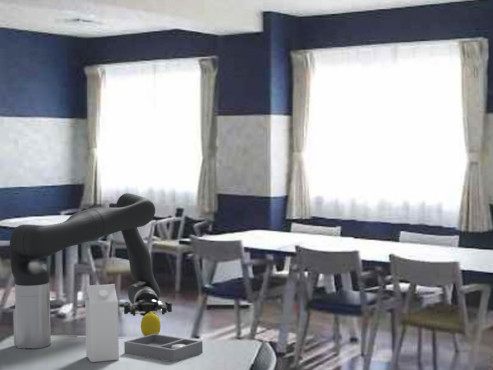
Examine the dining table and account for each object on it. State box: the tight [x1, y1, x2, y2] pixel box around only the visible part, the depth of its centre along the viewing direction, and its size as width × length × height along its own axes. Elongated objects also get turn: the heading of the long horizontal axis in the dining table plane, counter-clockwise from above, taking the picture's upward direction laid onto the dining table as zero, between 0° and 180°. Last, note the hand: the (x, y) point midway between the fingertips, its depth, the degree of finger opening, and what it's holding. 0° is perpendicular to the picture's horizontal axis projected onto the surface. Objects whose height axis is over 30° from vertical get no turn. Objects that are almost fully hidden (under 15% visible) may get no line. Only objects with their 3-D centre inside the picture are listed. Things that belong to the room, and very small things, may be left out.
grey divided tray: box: [123, 333, 204, 363], centre depth 219 cm, size 17×12×3 cm
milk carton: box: [84, 283, 120, 363], centre depth 213 cm, size 7×7×19 cm
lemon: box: [140, 312, 162, 337], centre depth 234 cm, size 6×6×8 cm
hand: (148, 311), depth 244 cm, fingers open, 8 cm apart
